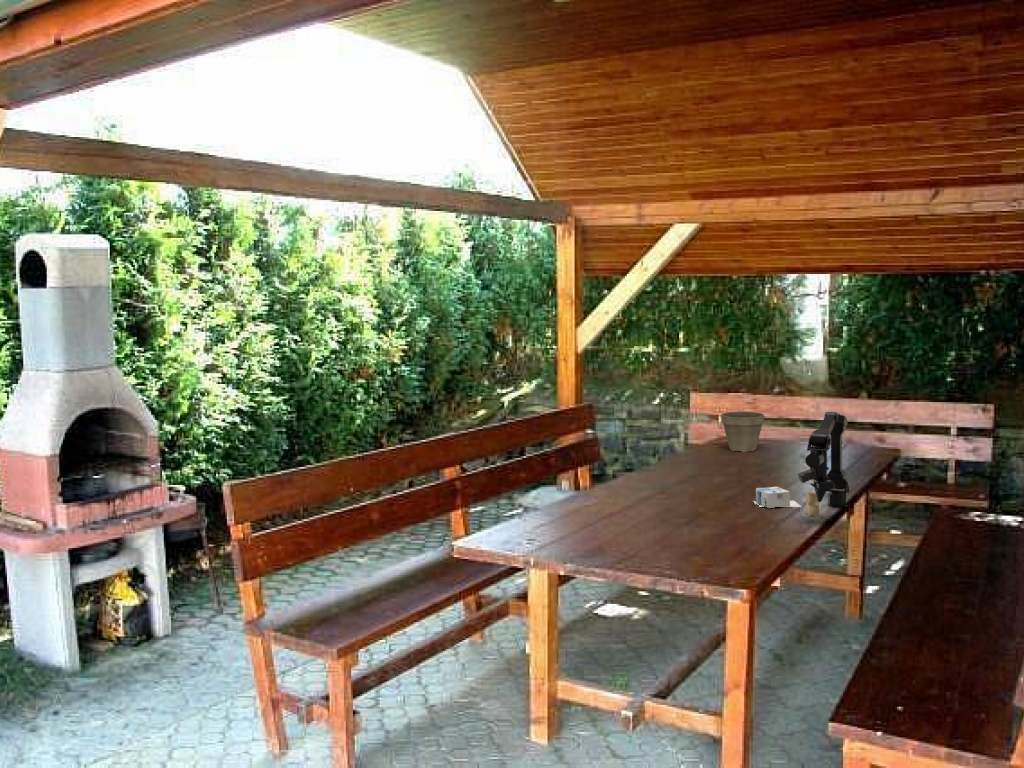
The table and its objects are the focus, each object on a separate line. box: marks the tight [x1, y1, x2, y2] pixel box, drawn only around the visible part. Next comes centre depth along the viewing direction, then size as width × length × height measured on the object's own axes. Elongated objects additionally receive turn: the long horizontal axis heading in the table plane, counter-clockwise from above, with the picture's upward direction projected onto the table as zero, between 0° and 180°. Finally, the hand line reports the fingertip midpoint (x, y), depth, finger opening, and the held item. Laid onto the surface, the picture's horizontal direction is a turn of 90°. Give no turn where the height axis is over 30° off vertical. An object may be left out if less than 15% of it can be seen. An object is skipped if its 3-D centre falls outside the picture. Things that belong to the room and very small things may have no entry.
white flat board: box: [752, 500, 803, 508], centre depth 394 cm, size 18×12×1 cm, turn 89°
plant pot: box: [720, 411, 765, 453], centre depth 534 cm, size 25×25×22 cm
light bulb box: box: [755, 486, 791, 509], centre depth 392 cm, size 11×7×11 cm
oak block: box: [805, 491, 820, 516], centre depth 375 cm, size 4×4×9 cm
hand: (819, 501), depth 366 cm, fingers closed
